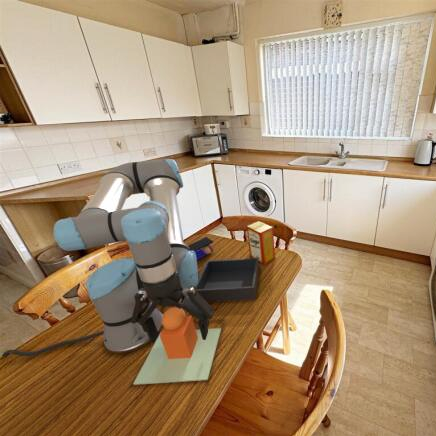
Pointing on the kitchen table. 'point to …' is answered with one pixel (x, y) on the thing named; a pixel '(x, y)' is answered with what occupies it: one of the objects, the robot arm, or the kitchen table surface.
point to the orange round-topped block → (178, 334)
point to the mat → (180, 362)
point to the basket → (229, 279)
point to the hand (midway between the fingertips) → (180, 337)
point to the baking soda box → (261, 241)
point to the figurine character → (203, 244)
